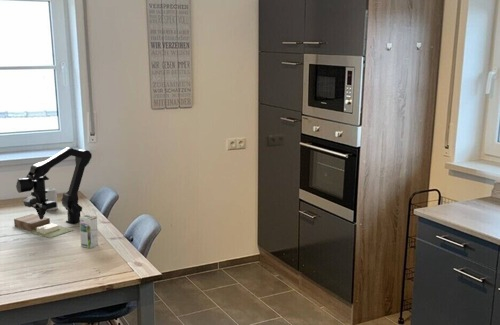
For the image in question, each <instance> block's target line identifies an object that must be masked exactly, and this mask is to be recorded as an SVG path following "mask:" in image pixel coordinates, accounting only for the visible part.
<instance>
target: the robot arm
mask: <svg viewBox="0 0 500 325" xmlns="http://www.w3.org/2000/svg"><path fill="white" fill-rule="evenodd" d="M92 155H93V154H92V153H91V151H90V150H88V149H83V148H80V149H75V148H73V147H69V146H67V147H65V148H63V149H62V150H60V151H59V152H58V153H55V154H54V155H52V156H51V157H49V158H47V159H46V160H43V161H39V162H36V163H34V164H32V165H31V166H30V170H29V172H28V174H26V176H25V178H17V181H16V185H15V188H16V191H17V193H19V194H20V193H26V192H31V193H30V195H29V196H27V197H25V198H24V199H23V200H22V202H23V205H24V207H28V208H33V209H35V211H36V213H37V215H39V218H40V219H43V217H45V215H46V212H47V211H48V210H47V209H51V208H55V207H57V203H58V202H57V203H56V202H54V201H48V199H47V198H46V193H47V191H46V190H45V189H46V181H48V180H50V178H49V177H47V174H48V173H49V171H50V170H51V169H52V168H53V167H55V166H56V165H59V164H60V163H61V162H63V161H64V160H66V159H68V158H69V157H75V158H74V159H75V168H74V171H73V174H72V178H71V181H70V184H69V188H68V190H67V192H66V193H63V194H62V198H61V199H60V201H61V205H62V207H64V208H65V210H67V220H66V221H65V222H66V223H67V224H73V225H74V224H75V225H76V224H77V223H78V224H79V223H80V217H81V212H83V206H81V205H80V204H79V194H78V193H79V190H80V185H81V182H82V180H83V176H84V173H85V169H86V167H87V166H88V165H89V163H90V161H91V159H92ZM46 201H48V202H46Z"/></svg>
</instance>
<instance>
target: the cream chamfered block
mask: <svg viewBox="0 0 500 325" xmlns="http://www.w3.org/2000/svg"><path fill="white" fill-rule="evenodd" d="M59 226H60V224H56V223H52V222H50V224H47V225H44V226H40V227H37V228H36V229H37V232H40V233H43V234H45V233H48V232H52V231H55V230H58V229H60V228H59Z"/></svg>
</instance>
